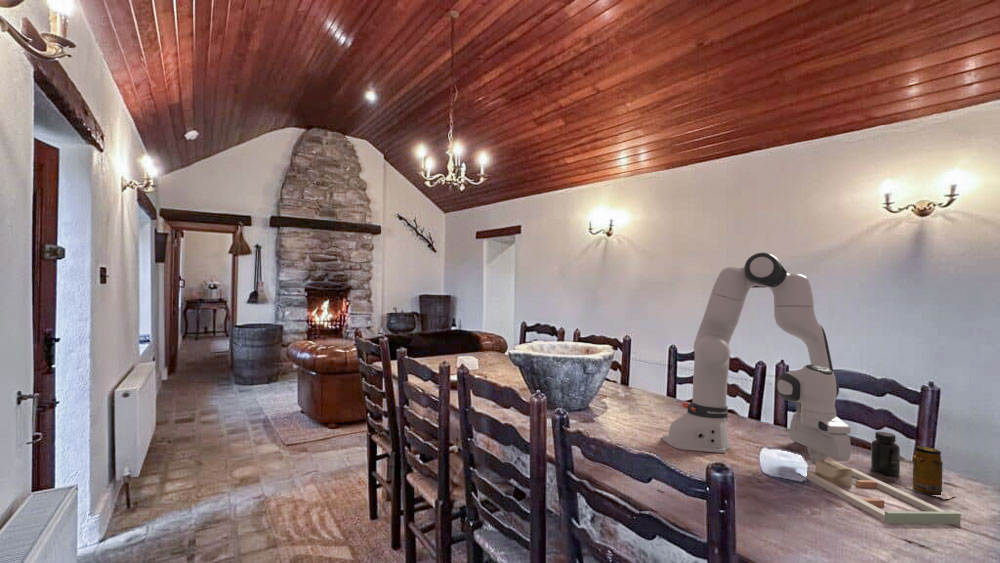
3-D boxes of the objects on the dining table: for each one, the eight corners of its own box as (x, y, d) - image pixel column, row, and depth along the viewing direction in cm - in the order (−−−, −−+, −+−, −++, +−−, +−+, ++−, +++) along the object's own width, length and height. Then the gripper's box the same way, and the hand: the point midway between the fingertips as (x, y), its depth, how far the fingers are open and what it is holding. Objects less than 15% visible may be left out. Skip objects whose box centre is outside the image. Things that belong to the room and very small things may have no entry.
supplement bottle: (895, 471, 143) (895, 432, 143) (903, 478, 137) (904, 438, 137) (867, 466, 146) (868, 429, 146) (874, 474, 140) (875, 434, 140)
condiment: (918, 484, 133) (918, 443, 133) (957, 497, 125) (957, 453, 125) (905, 488, 130) (906, 446, 130) (944, 501, 122) (945, 456, 122)
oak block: (831, 486, 129) (831, 468, 129) (815, 477, 135) (815, 460, 135) (851, 486, 129) (851, 469, 129) (834, 478, 135) (835, 461, 135)
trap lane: (888, 523, 108) (888, 513, 108) (795, 472, 138) (795, 464, 138) (960, 524, 109) (960, 513, 109) (852, 473, 140) (853, 465, 140)
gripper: (784, 410, 149) (783, 452, 149) (834, 429, 129) (833, 478, 128) (802, 410, 149) (801, 453, 149) (855, 429, 129) (854, 478, 129)
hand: (816, 465), depth 139 cm, fingers closed
